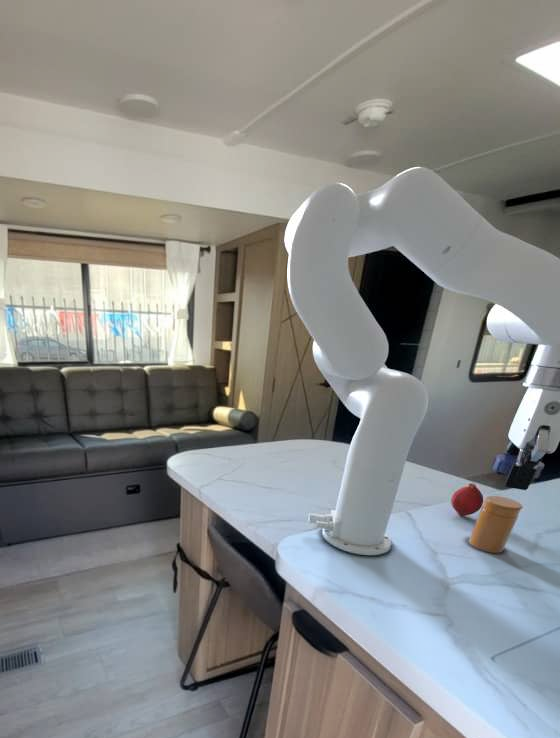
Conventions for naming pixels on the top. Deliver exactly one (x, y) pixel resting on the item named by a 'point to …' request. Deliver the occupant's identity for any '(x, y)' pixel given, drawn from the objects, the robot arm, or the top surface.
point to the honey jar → (495, 524)
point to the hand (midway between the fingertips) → (510, 480)
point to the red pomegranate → (467, 500)
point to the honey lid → (510, 464)
